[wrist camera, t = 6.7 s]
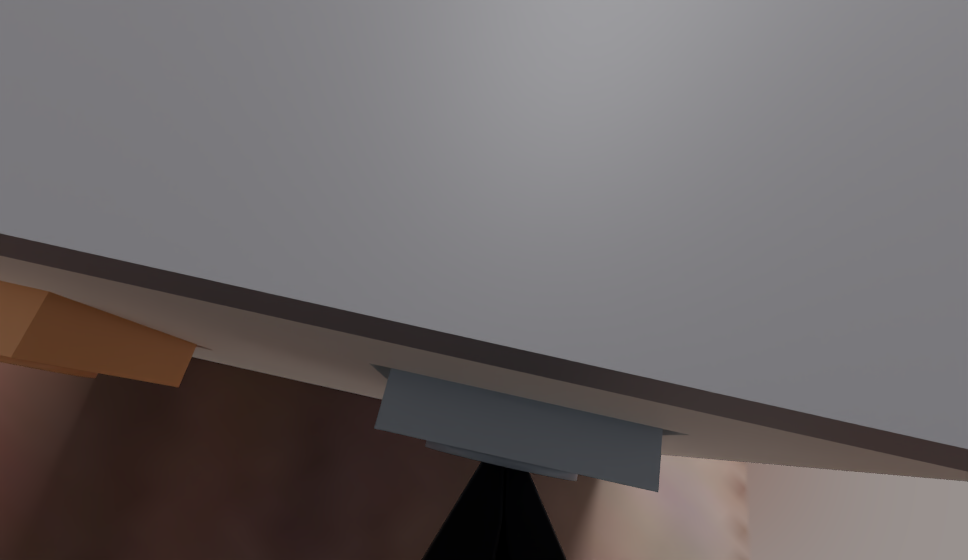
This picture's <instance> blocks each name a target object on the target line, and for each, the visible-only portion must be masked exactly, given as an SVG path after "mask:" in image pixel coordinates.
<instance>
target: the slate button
mask: <svg viewBox="0 0 968 560" xmlns="http://www.w3.org/2000/svg"><path fill="white" fill-rule="evenodd" d="M374 429H379V430H383V431H388V432H392V433H397V434H401V435H406V436H410V437H415V438H419V439H423V440H426V444H425V447H428V448H431V449H434V450H438V451H442V452H445V453H449V454H453V455H457V456H461V457H465V458H469V459H473V460H477V461H481V462H486V463H490V464H494V465H499V466H503V467H507V468H512V469H516V470H521V471H525V472H530V473H535V474H540V475H544V476H549V477H554V478H560V479H565V480H571V481H577V476H578V474H579V475H583V476H588V477H592V478H597V479H601V480H606V481H610V482H615V483H619V484H623V485H628V486H632V487H637V488H641V489H646V490H650V491H655V492H658V488H659V474H660V460H661V446H662V432H663V429H661V428H657V427H652V426H648V425H643V424H639V423H634V422H630V421H625V420H621V419H617V418H612V417H608V416H603V415H599V414H594V413H590V412H585V411H581V410H576V409H572V408H567V407H563V406H558V405H554V404H549V403H545V402H541V401H536V400H532V399H527V398H523V397H518V396H514V395H509V394H505V393H500V392H496V391H491V390H487V389H482V388H478V387H474V386H469V385H465V384H460V383H456V382H451V381H447V380H442V379H438V378H433V377H429V376H424V375H420V374H415V373H411V372H407V371H402V370H398V369H393V368H391V370H390V374H389V377H388V381H387V384H386V388H385V391H384V395H383V398H382V402H381V406H380V409H379V413H378V416H377V420H376V423H375V427H374Z"/></svg>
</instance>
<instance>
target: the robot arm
mask: <svg viewBox="0 0 968 560" xmlns="http://www.w3.org/2000/svg"><path fill="white" fill-rule="evenodd" d="M422 560H567V559H566V557H565V555H564V552H563V550H562V548H561V545H560V543H559V541H558V538H557V536H556V534H555V531H554V529H553V527H552V524H551V522H550V520H549V517H548V515H547V513H546V511H545V508H544V506H543V504H542V501H541V499H540V497H539V494H538V492H537V490H536V487H535V485H534V483H533V480H532V478H531V476H530V473H529V472H525V471H521V470H516V469H512V468H507V467H503V466H499V465H494V464H490V463H486V462H481V463H480V465H479V466H478V468H477V470H476V471H475V473H474V475H473V476H472V478H471V480H470V481H469V483H468V484H467V486H466V488H465V489H464V491H463V493H462V494H461V496H460V498H459V499H458V501H457V502H456V504H455V506H454V507H453V509H452V511H451V512H450V514H449V516H448V517H447V519H446V520H445V522H444V524H443V525H442V527H441V529H440V530H439V532H438V534H437V535H436V537H435V538H434V540H433V542H432V543H431V545H430V547H429V548H428V550H427V551H426V553H425V555H424V556H423V558H422Z"/></svg>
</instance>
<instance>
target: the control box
mask: <svg viewBox="0 0 968 560" xmlns="http://www.w3.org/2000/svg"><path fill="white" fill-rule="evenodd" d="M0 281H4V282H9V283H13V284H18V285H22V286H27V287H31V288H36V289H40V290H45V291H49V292H52V293H55V294H58V295H61V296H63V297H66V298H69V299H72V300H74V301H77V302H80V303H83V304H86V305H88V306H91V307H94V308H97V309H99V310H102V311H105V312H108V313H111V314H113V315H116V316H119V317H122V318H124V319H127V320H130V321H133V322H136V323H138V324H141V325H144V326H147V327H149V328H152V329H155V330H158V331H161V332H163V333H166V334H169V335H172V336H175V337H177V338H180V339H183V340H186V341H188V342H191V343H194V344H197V346H196V348H195V351H194V353H193V355H192V357H194V358H199V359H203V360H208V361H212V362H217V363H221V364H226V365H230V366H235V367H239V368H243V369H248V370H252V371H257V372H261V373H266V374H270V375H275V376H279V377H284V378H288V379H292V380H297V381H301V382H306V383H310V384H315V385H319V386H324V387H328V388H333V389H337V390H341V391H346V392H350V393H355V394H359V395H364V396H368V397H373V398H377V399H382V398H383V395H384V391H385V388H386V384H387V381H388V377H389V374H390V370H391V368H393V369H398V370H402V371H407V372H411V373H415V374H420V375H424V376H429V377H433V378H438V379H442V380H447V381H451V382H456V383H460V384H465V385H469V386H474V387H478V388H482V389H487V390H491V391H496V392H500V393H505V394H509V395H514V396H518V397H523V398H527V399H532V400H536V401H541V402H545V403H549V404H554V405H558V406H563V407H567V408H572V409H576V410H581V411H585V412H590V413H594V414H599V415H603V416H608V417H612V418H617V419H621V420H625V421H630V422H634V423H639V424H643V425H648V426H652V427H657V428H661V429H663V432H662V446H661V455H670V456H682V457H693V458H705V459H716V460H728V461H739V462H751V463H762V464H774V465H786V466H796V467H809V468H819V469H832V470H842V471H854V472H865V473H877V474H888V475H900V476H911V477H923V478H935V479H946V480H957V481H968V0H0Z"/></svg>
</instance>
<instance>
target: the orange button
mask: <svg viewBox="0 0 968 560" xmlns="http://www.w3.org/2000/svg"><path fill="white" fill-rule="evenodd" d="M196 346H197V344H194V343H191V342H188V341H186V340H183V339H180V338H177V337H175V336H172V335H169V334H166V333H163V332H161V331H158V330H155V329H152V328H149V327H147V326H144V325H141V324H138V323H136V322H133V321H130V320H127V319H124V318H122V317H119V316H116V315H113V314H111V313H108V312H105V311H102V310H99V309H97V308H94V307H91V306H88V305H86V304H83V303H80V302H77V301H74V300H72V299H69V298H66V297H63V296H61V295H58V294H55V293H52V292H49V291H45V290H40V289H36V288H31V287H27V286H22V285H18V284H13V283H9V282H4V281H0V362H3V363H9V364H14V365H19V366H24V367H30V368H35V369H40V370H46V371H51V372H57V373H63V374H68V375H74V376H81V377H88V378H96V376H97V374H98V373H100V374H106V375H112V376H117V377H123V378H128V379H134V380H140V381H145V382H151V383H156V384H162V385H167V386H173V387H179V385H180V383H181V380H182V378H183V376H184V374H185V371H186V369H187V367H188V364H189V362H190V360H191V358H192V355H193V353H194V351H195V348H196Z"/></svg>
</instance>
